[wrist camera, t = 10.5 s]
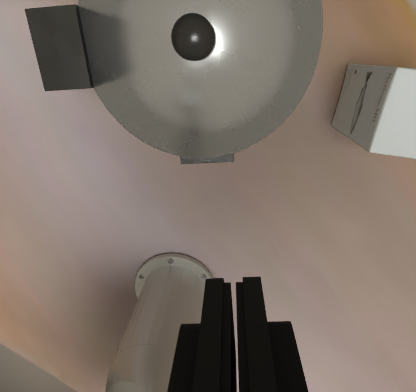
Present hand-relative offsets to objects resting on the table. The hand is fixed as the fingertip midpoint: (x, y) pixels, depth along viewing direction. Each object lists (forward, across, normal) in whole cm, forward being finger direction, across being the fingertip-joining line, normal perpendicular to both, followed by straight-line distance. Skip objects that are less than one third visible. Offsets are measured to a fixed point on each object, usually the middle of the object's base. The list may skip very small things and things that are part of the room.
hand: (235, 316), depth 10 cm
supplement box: (+33, -16, -3) cm, 37 cm away
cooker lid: (+21, +4, -10) cm, 23 cm away
